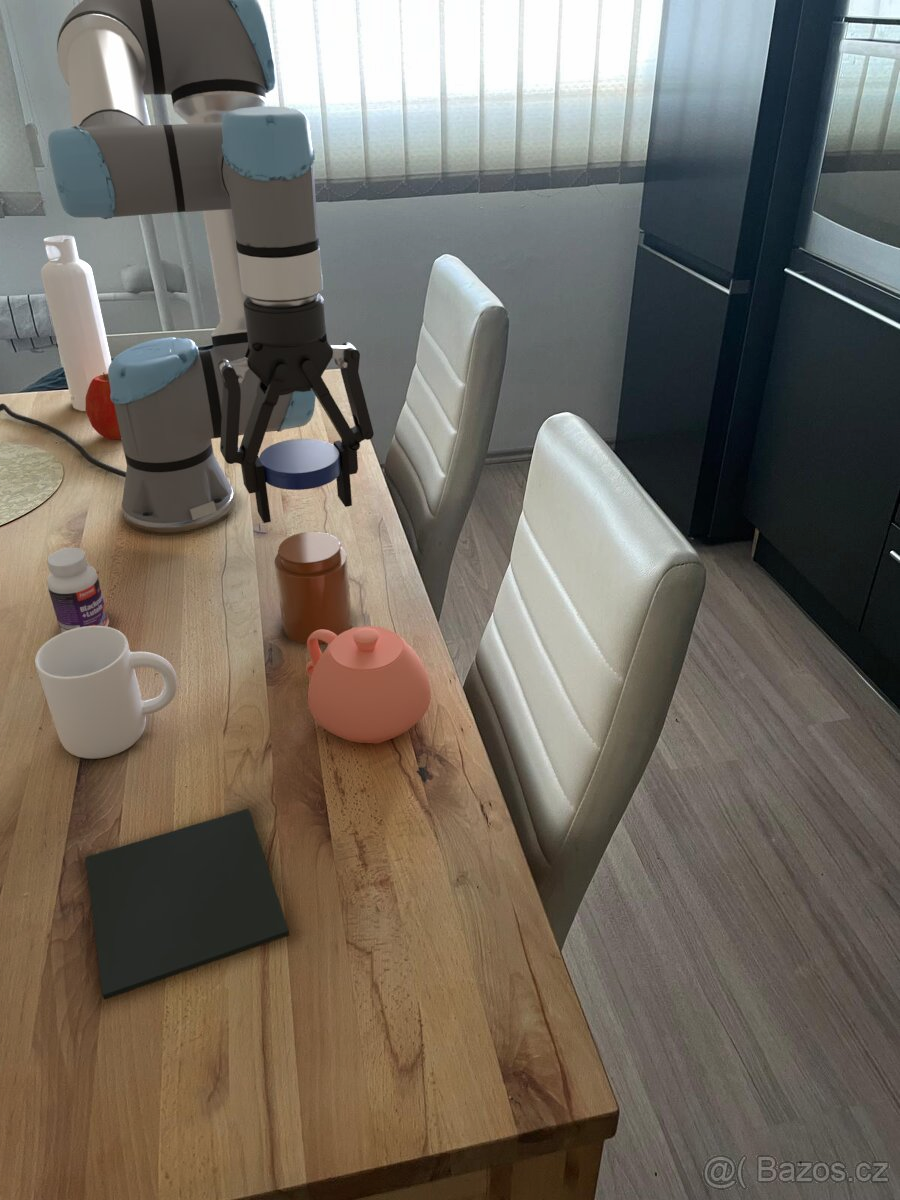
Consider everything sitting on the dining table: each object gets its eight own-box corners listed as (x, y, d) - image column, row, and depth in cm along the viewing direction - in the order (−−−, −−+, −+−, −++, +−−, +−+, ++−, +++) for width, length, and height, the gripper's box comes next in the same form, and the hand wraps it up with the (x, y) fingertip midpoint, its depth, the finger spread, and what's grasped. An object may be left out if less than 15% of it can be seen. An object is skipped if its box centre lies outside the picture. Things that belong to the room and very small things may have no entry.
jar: (275, 613, 109) (265, 537, 103) (339, 599, 112) (333, 523, 106) (293, 651, 103) (283, 572, 97) (360, 634, 105) (355, 556, 100)
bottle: (129, 398, 166) (95, 235, 150) (98, 414, 160) (59, 246, 144) (94, 391, 169) (58, 231, 153) (62, 407, 163) (21, 241, 147)
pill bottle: (95, 644, 104) (75, 571, 99) (51, 638, 105) (29, 566, 100) (118, 617, 108) (100, 546, 103) (77, 612, 109) (57, 541, 104)
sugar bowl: (385, 773, 87) (380, 690, 81) (272, 721, 93) (260, 640, 87) (453, 702, 95) (453, 621, 90) (346, 659, 102) (339, 581, 96)
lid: (338, 489, 93) (337, 472, 92) (256, 491, 93) (254, 474, 92) (342, 453, 100) (341, 437, 99) (266, 455, 100) (264, 439, 98)
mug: (184, 693, 97) (167, 613, 91) (187, 745, 90) (169, 662, 84) (63, 714, 94) (38, 633, 88) (58, 769, 87) (30, 685, 82)
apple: (123, 420, 158) (109, 359, 152) (154, 431, 154) (142, 369, 148) (82, 436, 152) (66, 374, 146) (113, 448, 148) (99, 384, 142)
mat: (86, 861, 78) (85, 856, 78) (249, 812, 83) (248, 808, 82) (104, 1000, 68) (102, 995, 67) (289, 935, 72) (288, 930, 72)
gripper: (376, 273, 92) (385, 476, 105) (162, 297, 85) (200, 511, 98) (402, 292, 87) (408, 505, 99) (175, 320, 80) (214, 545, 93)
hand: (305, 508), depth 99 cm, fingers closed on lid, 8 cm apart
